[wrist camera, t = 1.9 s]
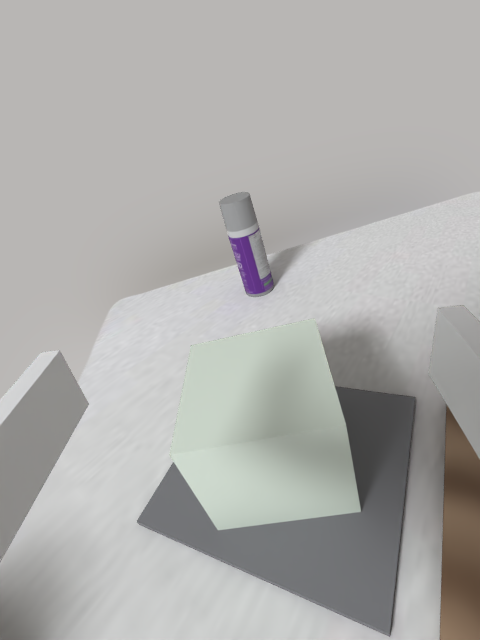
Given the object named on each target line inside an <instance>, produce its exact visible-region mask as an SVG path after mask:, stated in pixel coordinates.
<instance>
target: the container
mask: <svg viewBox="0 0 480 640" xmlns="http://www.w3.org/2000/svg"><path fill="white" fill-rule="evenodd" d="M219 205H220V209H221V212H222V215H223V219H224V223H225V226H226V229H227V233H228V237H229V240H230V243H231V246H232V249H233V252H234V256H235V259H236V262H237V265H238V268H239V272H240V275H241V278H242V281H243V284H244V287H245V291H246V293H247V295H249V296H251V297H259V296H263V295H265V294H267V293H269V292H271V291H272V290H273V288H274V283H273V279H272V275H271V272H270V268H269V264H268V260H267V256H266V252H265V248H264V245H263V241H262V237H261V233H260V229H259V225H258V222H257V218H256V215H255V212H254V208H253V204H252V201H251V198H250V194H249V193H248V192H241V193H236V194H232V195H230V196H227V197H225V198H223V199H222V200H221V201H220V202H219Z"/></svg>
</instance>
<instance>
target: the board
mask: <svg viewBox="0 0 480 640" xmlns="http://www.w3.org/2000/svg"><path fill="white" fill-rule="evenodd" d="M440 640H480V459H479V457H478V456H477V454H476V452H475V451H474V449H473V447H472V446H471V444H470V442H469V441H468V439H467V437H466V436H465V434H464V432H463V431H462V429H461V427H460V426H459V424H458V422H457V421H456V419H455V417H454V416H453V414H452V412H451V411H450V409H449V407H448V405H447V404H446V438H445V473H444V508H443V543H442V578H441V613H440Z"/></svg>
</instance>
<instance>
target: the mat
mask: <svg viewBox="0 0 480 640" xmlns="http://www.w3.org/2000/svg"><path fill="white" fill-rule="evenodd" d="M335 389H336V392H337V395H338V399H339V402H340V406H341V409H342V413H343V416H344V419H345V423H346V427H347V433H348V439H349V444H350V450H351V456H352V462H353V467H354V473H355V479H356V485H357V491H358V496H359V502H360V508H361V512H356V513H348V514H341V515H333V516H325V517H317V518H310V519H302V520H294V521H286V522H279V523H271V524H263V525H255V526H248V527H240V528H232V529H224V530H217V528H216V527H215V525H214V524H213V522H212V520H211V519H210V517H209V516H208V514H207V513H206V511H205V510H204V508H203V506H202V505H201V503H200V502H199V500H198V499H197V497H196V496H195V494H194V493H193V491H192V489H191V488H190V486H189V485H188V483H187V482H186V480H185V479H184V477H183V476H182V474H181V472H180V471H179V469H178V468H177V466H176V465H175V463H174V462H173V464H172V465H171V467H170V468H169V470H168V472H167V473H166V475H165V477H164V478H163V480H162V481H161V483H160V485H159V486H158V488H157V489H156V491H155V493H154V494H153V496H152V498H151V499H150V501H149V502H148V504H147V506H146V507H145V509H144V510H143V512H142V514H141V515H140V517H139V519H138V520H137V523H138V524H139V525H142V526H144V527H146V528H148V529H151V530H153V531H155V532H157V533H160V534H162V535H164V536H166V537H168V538H171V539H173V540H175V541H177V542H180V543H182V544H184V545H186V546H189V547H191V548H193V549H195V550H197V551H200V552H202V553H204V554H206V555H209V556H211V557H213V558H215V559H218V560H220V561H222V562H224V563H227V564H229V565H231V566H233V567H235V568H238V569H240V570H242V571H244V572H247V573H249V574H251V575H253V576H256V577H258V578H260V579H262V580H264V581H267V582H269V583H271V584H273V585H276V586H278V587H280V588H282V589H285V590H287V591H289V592H291V593H293V594H296V595H298V596H300V597H302V598H305V599H307V600H309V601H311V602H314V603H316V604H318V605H320V606H322V607H325V608H327V609H329V610H331V611H334V612H336V613H338V614H340V615H343V616H345V617H347V618H349V619H352V620H354V621H356V622H358V623H360V624H363V625H365V626H367V627H369V628H372V629H374V630H376V631H378V632H381V633H383V634H385V635H387V636H389V637H390V631H391V621H392V612H393V603H394V593H395V584H396V575H397V565H398V556H399V547H400V538H401V528H402V519H403V510H404V500H405V491H406V482H407V472H408V463H409V454H410V444H411V435H412V426H413V416H414V407H415V397H410V396H403V395H395V394H388V393H380V392H373V391H365V390H358V389H350V388H343V387H335Z"/></svg>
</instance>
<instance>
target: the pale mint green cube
mask: <svg viewBox="0 0 480 640" xmlns="http://www.w3.org/2000/svg"><path fill="white" fill-rule="evenodd" d="M169 455H170V457H171V459H172V460H173V462H174V463H175V465H176V466H177V468H178V469H179V471H180V472H181V474H182V476H183V477H184V479H185V480H186V482H187V483H188V485H189V486H190V488H191V489H192V491H193V493H194V494H195V496H196V497H197V499H198V500H199V502H200V503H201V505H202V506H203V508H204V510H205V511H206V513H207V514H208V516H209V517H210V519H211V520H212V522H213V524H214V525H215V527H216V528H217V530H224V529H232V528H240V527H248V526H255V525H263V524H271V523H279V522H286V521H294V520H302V519H310V518H317V517H325V516H333V515H341V514H348V513H356V512H361V508H360V502H359V496H358V491H357V485H356V479H355V473H354V467H353V462H352V456H351V450H350V444H349V439H348V433H347V427H346V423H345V419H344V416H343V413H342V409H341V406H340V402H339V399H338V395H337V392H336V389H335V385H334V382H333V378H332V375H331V371H330V368H329V365H328V361H327V358H326V354H325V351H324V347H323V344H322V340H321V337H320V334H319V330H318V327H317V323H316V320H315V318H313V319H309V320H304V321H300V322H295V323H291V324H286V325H282V326H277V327H273V328H268V329H264V330H259V331H255V332H250V333H245V334H241V335H236V336H232V337H227V338H223V339H218V340H214V341H209V342H205V343H200V344H196V345H191V348H190V353H189V358H188V363H187V368H186V373H185V378H184V383H183V388H182V393H181V398H180V403H179V408H178V413H177V418H176V423H175V429H174V434H173V439H172V444H171V449H170V454H169Z"/></svg>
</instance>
